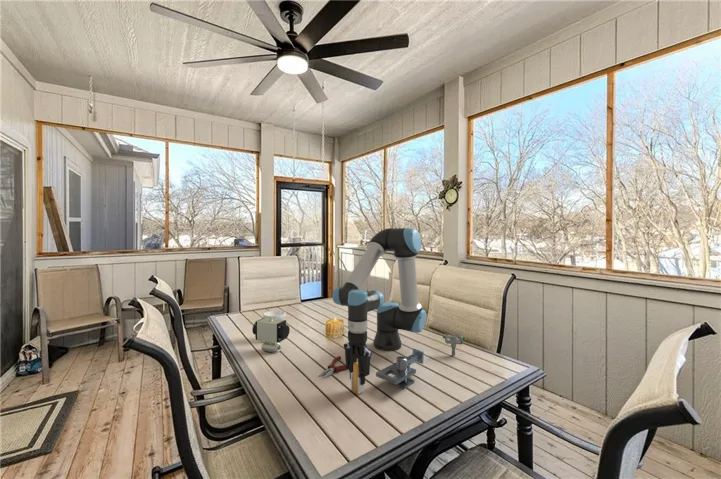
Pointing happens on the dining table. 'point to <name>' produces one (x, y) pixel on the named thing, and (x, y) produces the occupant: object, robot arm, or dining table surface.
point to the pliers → (334, 368)
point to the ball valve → (271, 333)
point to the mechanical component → (453, 341)
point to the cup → (275, 314)
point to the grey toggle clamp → (402, 369)
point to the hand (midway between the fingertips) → (357, 390)
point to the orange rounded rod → (355, 377)
